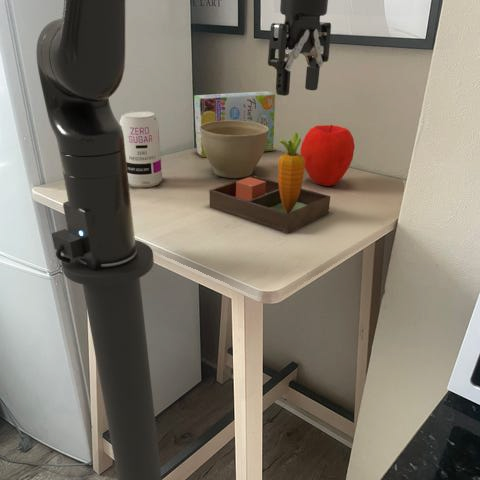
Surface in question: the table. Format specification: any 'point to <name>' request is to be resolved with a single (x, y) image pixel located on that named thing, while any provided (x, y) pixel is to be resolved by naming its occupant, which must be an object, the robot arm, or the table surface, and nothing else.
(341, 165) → the apple
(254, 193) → the terracotta block
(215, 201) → the sorting tray
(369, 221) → the table surface
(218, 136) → the planter bowl
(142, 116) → the supplement can
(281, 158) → the carrot
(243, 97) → the snack box
